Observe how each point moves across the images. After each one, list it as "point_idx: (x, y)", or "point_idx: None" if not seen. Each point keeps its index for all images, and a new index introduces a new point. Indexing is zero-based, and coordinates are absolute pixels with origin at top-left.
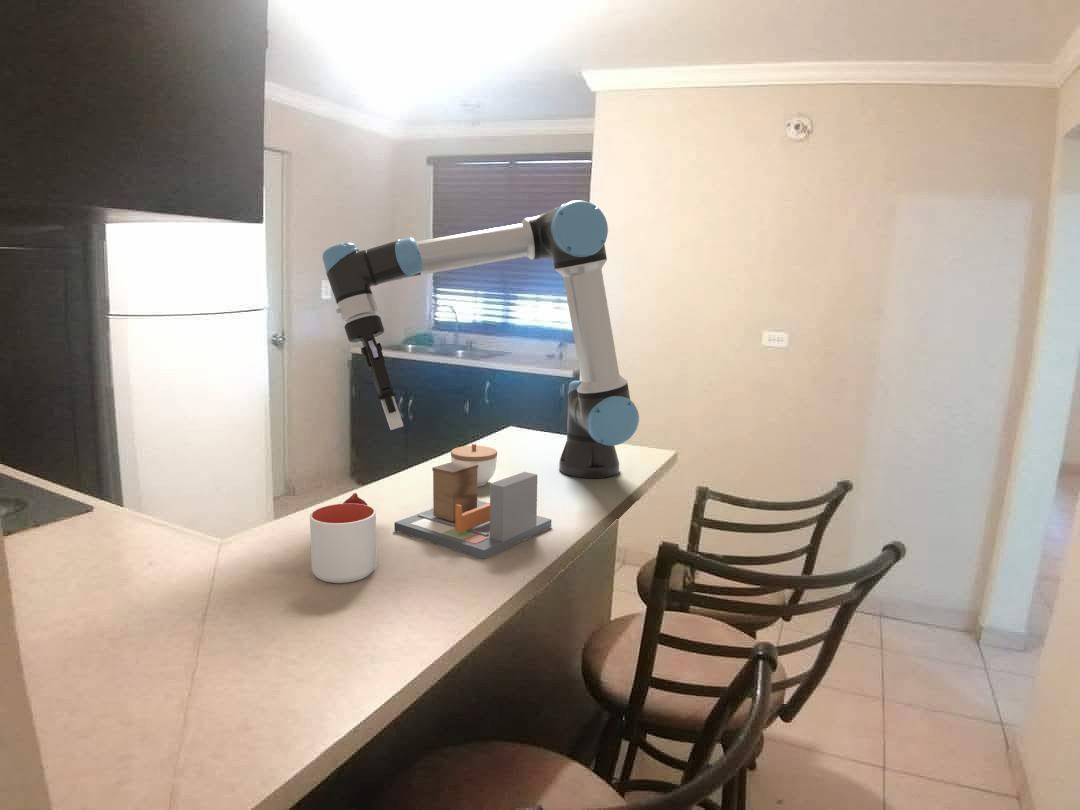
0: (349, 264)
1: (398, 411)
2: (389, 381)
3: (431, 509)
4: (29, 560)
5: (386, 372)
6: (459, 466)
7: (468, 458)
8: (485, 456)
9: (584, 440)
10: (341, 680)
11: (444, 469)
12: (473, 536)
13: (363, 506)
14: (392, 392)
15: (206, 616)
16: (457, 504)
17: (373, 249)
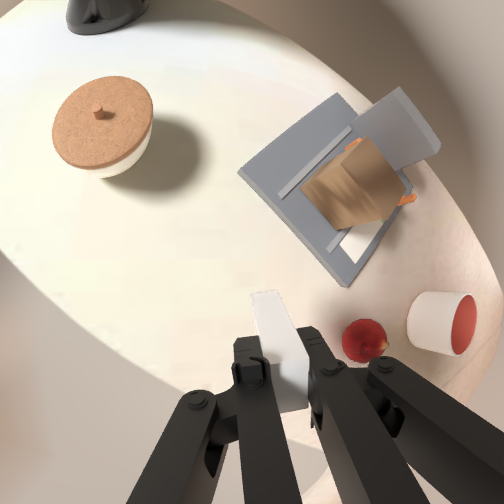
0: None
1: (289, 317)
2: (431, 385)
3: (301, 231)
4: None
5: (472, 415)
6: (379, 169)
7: (147, 130)
8: (150, 97)
9: None
10: (485, 287)
11: (396, 199)
12: None
13: (454, 310)
14: (346, 365)
15: (444, 384)
16: (412, 198)
17: None
